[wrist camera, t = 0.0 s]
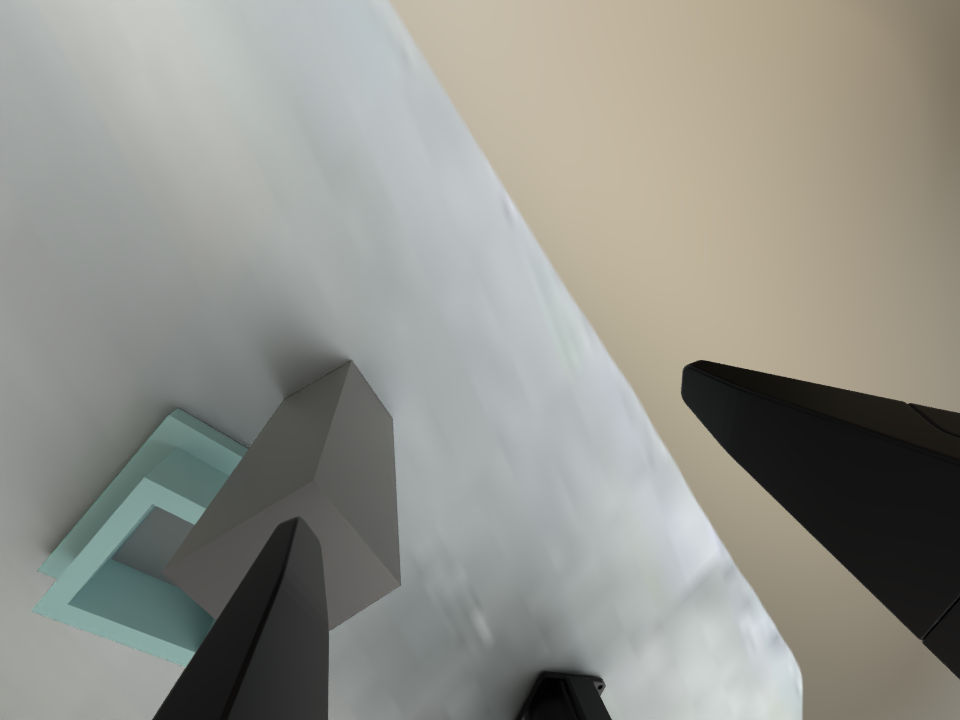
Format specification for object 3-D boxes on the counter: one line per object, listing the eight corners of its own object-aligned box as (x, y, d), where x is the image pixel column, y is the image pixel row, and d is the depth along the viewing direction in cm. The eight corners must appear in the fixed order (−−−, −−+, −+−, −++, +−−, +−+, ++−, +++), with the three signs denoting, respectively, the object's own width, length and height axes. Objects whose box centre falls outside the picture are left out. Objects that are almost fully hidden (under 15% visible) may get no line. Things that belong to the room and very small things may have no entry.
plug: (392, 418, 24) (401, 585, 12) (329, 456, 24) (270, 668, 12) (351, 359, 23) (313, 480, 10) (284, 399, 22) (161, 571, 10)
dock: (347, 506, 25) (340, 551, 21) (237, 632, 25) (210, 698, 21) (178, 407, 21) (133, 440, 17) (52, 557, 22) (-19, 620, 18)
